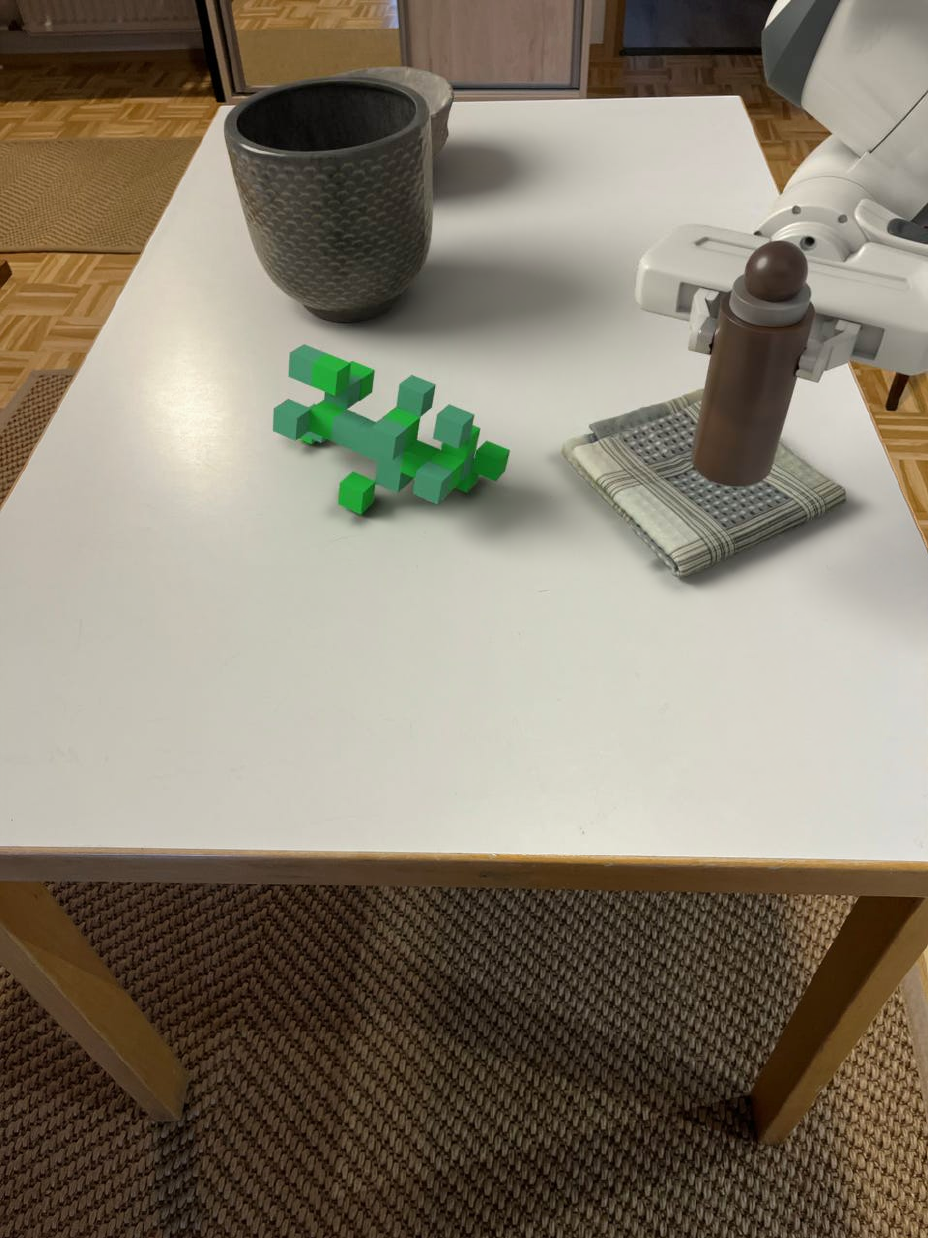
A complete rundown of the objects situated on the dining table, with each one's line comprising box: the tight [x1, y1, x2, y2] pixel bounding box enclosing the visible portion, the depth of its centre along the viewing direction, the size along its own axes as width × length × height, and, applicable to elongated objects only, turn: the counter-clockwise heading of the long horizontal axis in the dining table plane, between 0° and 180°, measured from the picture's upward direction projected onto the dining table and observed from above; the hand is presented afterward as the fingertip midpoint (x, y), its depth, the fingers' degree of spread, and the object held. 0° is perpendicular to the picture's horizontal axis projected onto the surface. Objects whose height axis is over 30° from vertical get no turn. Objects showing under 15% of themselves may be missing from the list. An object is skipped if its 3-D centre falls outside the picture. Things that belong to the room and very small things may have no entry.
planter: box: [223, 75, 434, 323], centre depth 95 cm, size 20×20×19 cm
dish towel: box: [560, 388, 847, 578], centre depth 78 cm, size 19×18×3 cm
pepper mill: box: [691, 240, 815, 487], centre depth 59 cm, size 6×6×16 cm
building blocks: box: [272, 343, 511, 515], centre depth 78 cm, size 20×12×13 cm, turn 79°
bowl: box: [328, 66, 455, 160], centre depth 118 cm, size 21×21×10 cm
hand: (754, 356), depth 58 cm, fingers closed on pepper mill, 5 cm apart
